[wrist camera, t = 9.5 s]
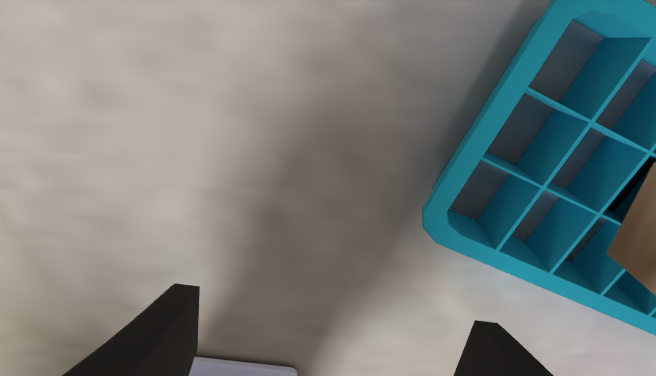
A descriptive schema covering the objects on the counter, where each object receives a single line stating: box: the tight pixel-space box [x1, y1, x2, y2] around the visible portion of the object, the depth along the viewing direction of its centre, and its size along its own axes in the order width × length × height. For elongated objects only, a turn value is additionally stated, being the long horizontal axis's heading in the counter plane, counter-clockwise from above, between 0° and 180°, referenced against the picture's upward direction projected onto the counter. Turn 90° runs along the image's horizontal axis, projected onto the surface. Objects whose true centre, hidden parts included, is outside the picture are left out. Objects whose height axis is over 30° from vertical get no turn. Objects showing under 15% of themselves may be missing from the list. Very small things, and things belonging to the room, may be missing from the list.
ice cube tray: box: [422, 0, 656, 335], centre depth 19 cm, size 12×20×3 cm, turn 65°
